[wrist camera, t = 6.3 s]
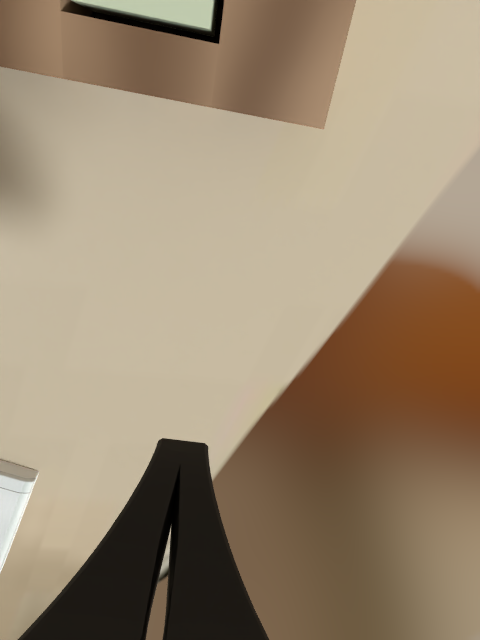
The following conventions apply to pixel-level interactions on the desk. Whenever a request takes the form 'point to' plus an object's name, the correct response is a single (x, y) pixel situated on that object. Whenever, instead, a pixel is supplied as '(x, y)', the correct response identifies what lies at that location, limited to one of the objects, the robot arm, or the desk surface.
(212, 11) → the sage button
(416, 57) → the desk surface
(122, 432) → the desk surface
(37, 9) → the button panel
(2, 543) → the hard drive
